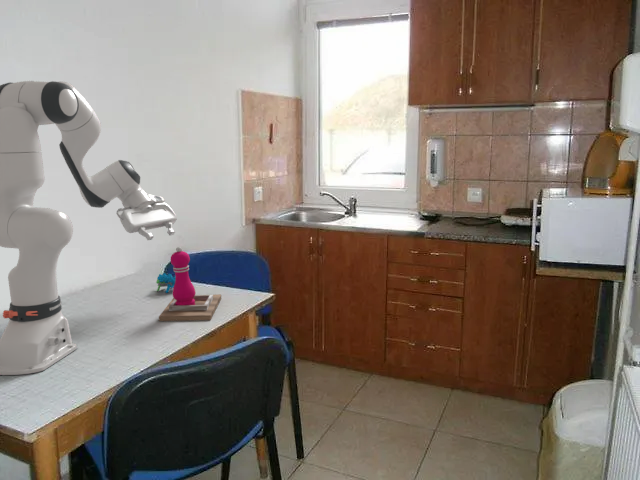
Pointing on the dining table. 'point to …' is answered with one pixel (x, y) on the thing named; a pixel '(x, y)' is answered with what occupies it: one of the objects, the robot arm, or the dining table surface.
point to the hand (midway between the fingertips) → (162, 236)
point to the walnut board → (192, 309)
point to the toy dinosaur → (166, 281)
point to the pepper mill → (182, 279)
